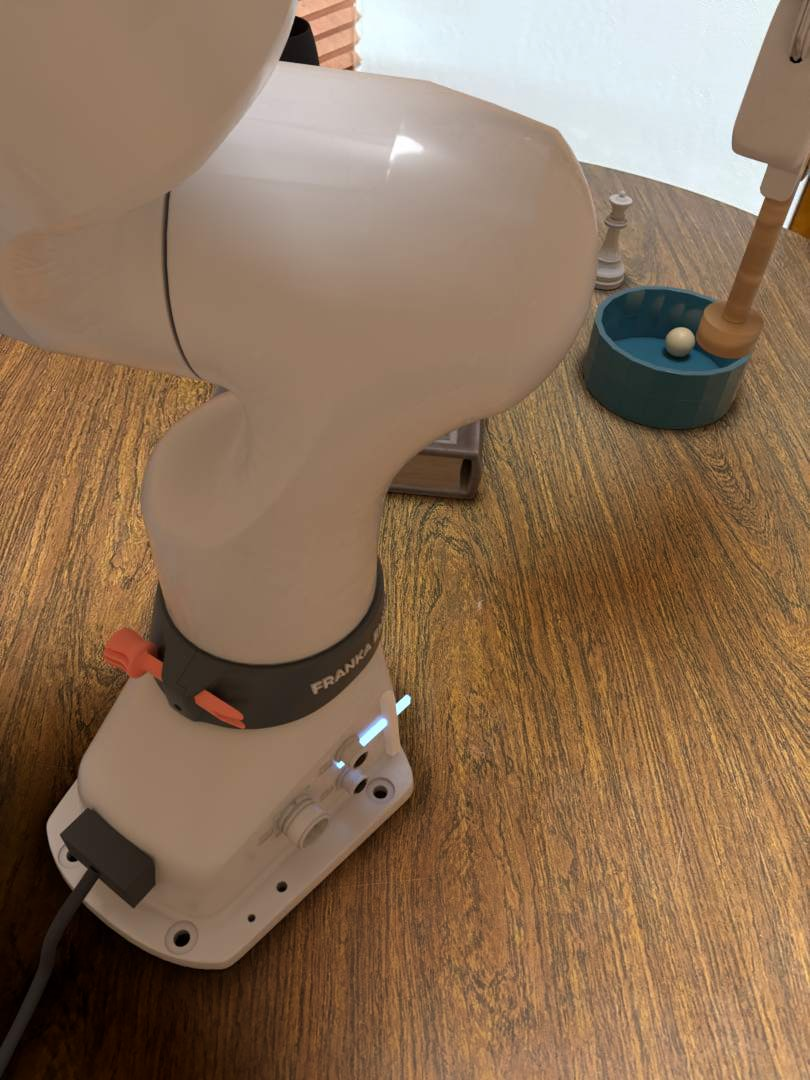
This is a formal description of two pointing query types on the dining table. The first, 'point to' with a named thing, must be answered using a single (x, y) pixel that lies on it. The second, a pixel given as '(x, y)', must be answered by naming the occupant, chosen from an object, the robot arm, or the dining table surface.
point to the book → (440, 464)
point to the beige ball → (679, 342)
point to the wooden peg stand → (744, 289)
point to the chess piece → (612, 245)
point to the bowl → (657, 361)
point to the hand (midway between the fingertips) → (783, 185)
